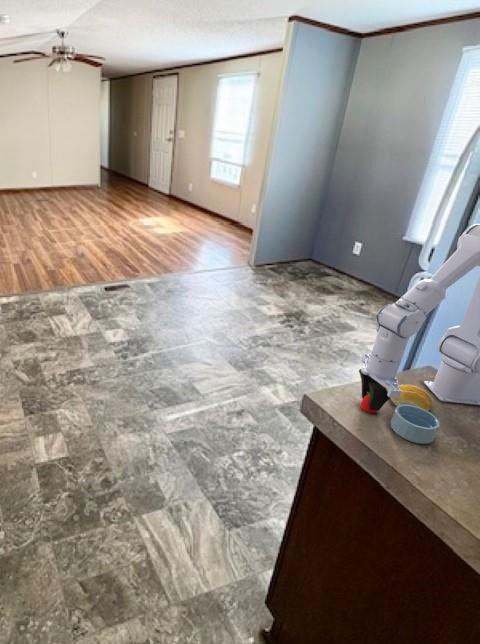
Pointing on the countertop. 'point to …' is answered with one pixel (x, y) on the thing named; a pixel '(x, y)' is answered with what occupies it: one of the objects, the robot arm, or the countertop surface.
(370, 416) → the countertop surface
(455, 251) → the robot arm
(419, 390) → the bread roll
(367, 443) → the countertop surface
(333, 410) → the countertop surface
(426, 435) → the bowl
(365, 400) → the strawberry
